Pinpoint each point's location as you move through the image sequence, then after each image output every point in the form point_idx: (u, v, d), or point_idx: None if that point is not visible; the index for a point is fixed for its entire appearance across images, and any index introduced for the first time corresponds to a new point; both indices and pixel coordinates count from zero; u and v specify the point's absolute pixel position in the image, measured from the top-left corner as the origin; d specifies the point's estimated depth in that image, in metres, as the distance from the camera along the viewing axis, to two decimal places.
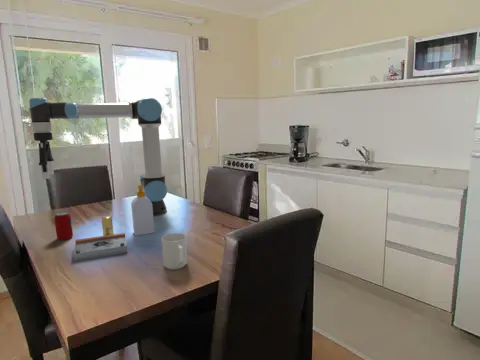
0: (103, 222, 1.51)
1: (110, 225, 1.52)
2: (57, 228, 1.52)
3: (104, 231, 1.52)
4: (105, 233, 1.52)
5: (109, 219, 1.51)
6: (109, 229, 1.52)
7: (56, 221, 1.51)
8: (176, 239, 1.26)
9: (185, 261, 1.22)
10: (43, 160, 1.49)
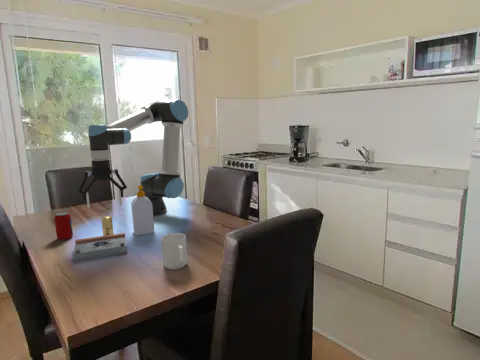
0: (103, 222, 1.51)
1: (110, 225, 1.52)
2: (57, 228, 1.52)
3: (104, 231, 1.52)
4: (105, 233, 1.52)
5: (109, 219, 1.51)
6: (109, 229, 1.52)
7: (56, 221, 1.51)
8: (176, 239, 1.26)
9: (185, 261, 1.22)
10: None
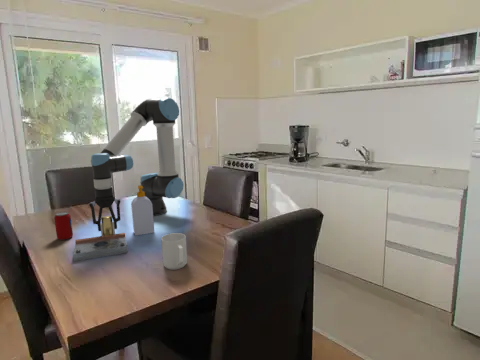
0: (103, 222, 1.51)
1: (110, 225, 1.52)
2: (57, 228, 1.52)
3: (104, 231, 1.52)
4: (105, 233, 1.52)
5: (109, 219, 1.51)
6: (109, 229, 1.52)
7: (56, 221, 1.51)
8: (176, 239, 1.26)
9: (185, 261, 1.22)
10: None
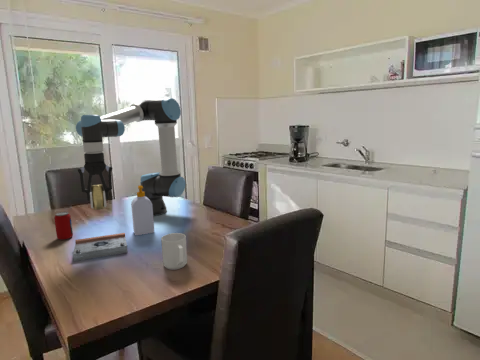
0: (93, 190, 1.38)
1: (100, 194, 1.39)
2: (57, 228, 1.52)
3: (94, 200, 1.39)
4: (95, 202, 1.39)
5: (99, 187, 1.39)
6: (99, 198, 1.39)
7: (56, 221, 1.51)
8: (176, 239, 1.26)
9: (185, 261, 1.22)
10: None
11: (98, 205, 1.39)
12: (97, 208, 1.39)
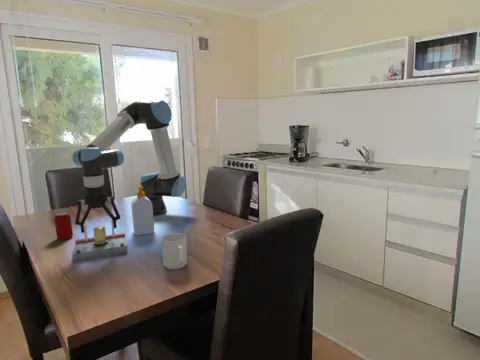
0: (95, 233, 1.36)
1: (103, 237, 1.37)
2: (57, 228, 1.52)
3: (96, 243, 1.37)
4: (97, 245, 1.37)
5: (102, 230, 1.37)
6: (102, 241, 1.37)
7: (56, 221, 1.51)
8: (176, 239, 1.26)
9: (185, 261, 1.22)
10: None
11: None
12: None
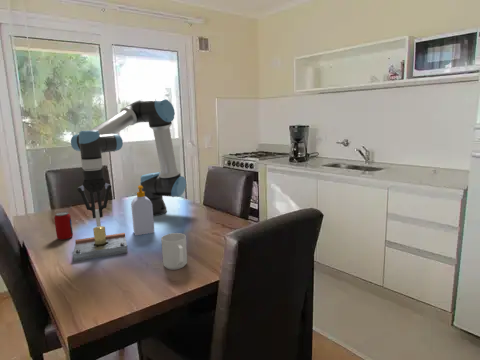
0: (95, 233, 1.36)
1: (103, 237, 1.37)
2: (57, 228, 1.52)
3: (96, 243, 1.37)
4: (97, 245, 1.37)
5: (102, 230, 1.37)
6: (102, 241, 1.37)
7: (56, 221, 1.51)
8: (176, 239, 1.26)
9: (185, 261, 1.22)
10: None
11: None
12: None
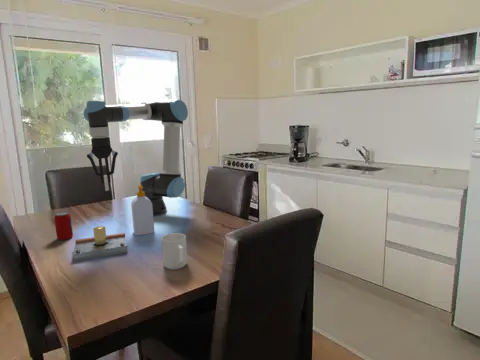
0: (95, 233, 1.36)
1: (103, 237, 1.37)
2: (57, 228, 1.52)
3: (96, 243, 1.37)
4: (97, 245, 1.37)
5: (102, 230, 1.37)
6: (102, 241, 1.37)
7: (56, 221, 1.51)
8: (176, 239, 1.26)
9: (185, 261, 1.22)
10: None
11: None
12: None
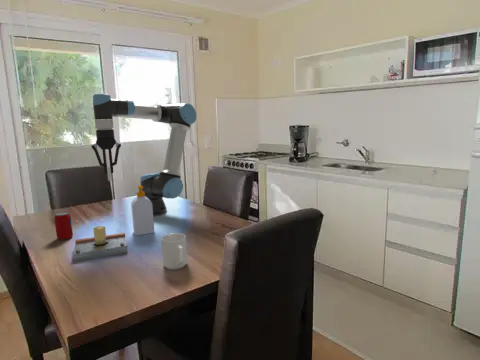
0: (95, 233, 1.36)
1: (103, 237, 1.37)
2: (57, 228, 1.52)
3: (96, 243, 1.37)
4: (97, 245, 1.37)
5: (102, 230, 1.37)
6: (102, 241, 1.37)
7: (56, 221, 1.51)
8: (176, 239, 1.26)
9: (185, 261, 1.22)
10: None
11: None
12: None
